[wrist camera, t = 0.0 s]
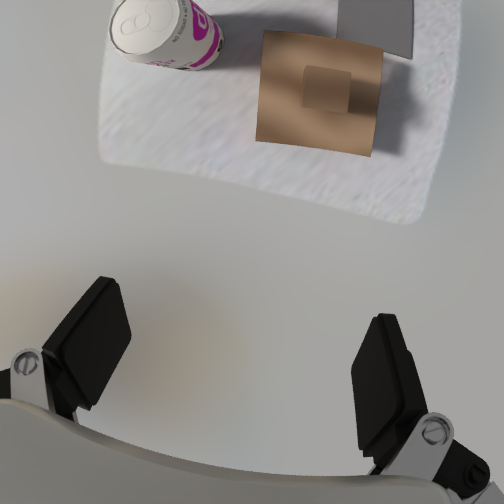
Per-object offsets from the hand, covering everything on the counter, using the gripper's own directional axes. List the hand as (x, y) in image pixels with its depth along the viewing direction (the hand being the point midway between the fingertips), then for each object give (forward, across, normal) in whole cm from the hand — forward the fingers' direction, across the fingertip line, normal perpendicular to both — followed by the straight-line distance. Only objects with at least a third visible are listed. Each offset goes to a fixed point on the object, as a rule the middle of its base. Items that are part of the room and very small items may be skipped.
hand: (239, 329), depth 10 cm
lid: (+26, -4, -9) cm, 28 cm away
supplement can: (+31, +12, -15) cm, 37 cm away
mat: (+31, -11, -23) cm, 40 cm away
